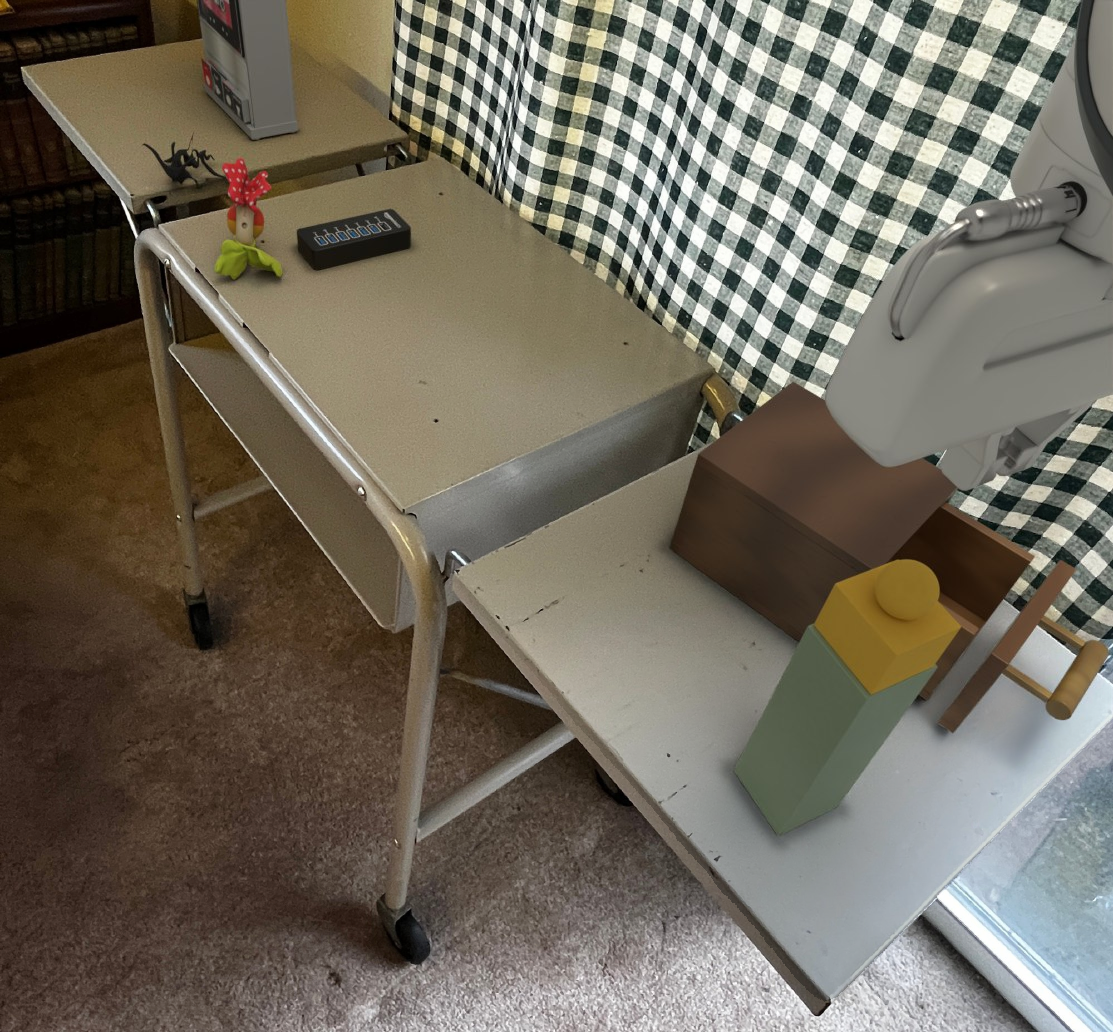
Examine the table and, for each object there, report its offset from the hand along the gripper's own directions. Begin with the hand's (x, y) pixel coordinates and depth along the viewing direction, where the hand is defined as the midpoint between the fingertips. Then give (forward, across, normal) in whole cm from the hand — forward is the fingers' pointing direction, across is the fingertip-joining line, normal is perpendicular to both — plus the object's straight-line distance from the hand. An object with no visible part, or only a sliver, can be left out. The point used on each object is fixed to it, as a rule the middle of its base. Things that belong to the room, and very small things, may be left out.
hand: (982, 470), depth 41 cm
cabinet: (+29, +12, +16) cm, 35 cm away
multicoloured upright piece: (+29, -16, +69) cm, 77 cm away
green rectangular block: (+29, 0, 0) cm, 29 cm away
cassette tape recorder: (+29, -7, +101) cm, 105 cm away
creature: (+29, -17, +87) cm, 93 cm away
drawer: (+28, +17, +4) cm, 33 cm away
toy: (+13, 0, 0) cm, 13 cm away
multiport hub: (+29, -5, +69) cm, 75 cm away
